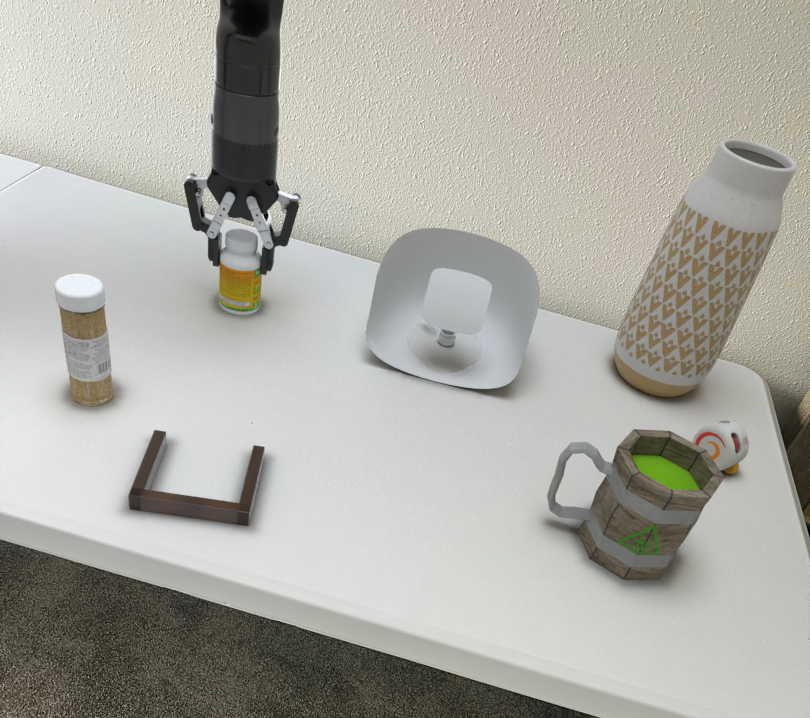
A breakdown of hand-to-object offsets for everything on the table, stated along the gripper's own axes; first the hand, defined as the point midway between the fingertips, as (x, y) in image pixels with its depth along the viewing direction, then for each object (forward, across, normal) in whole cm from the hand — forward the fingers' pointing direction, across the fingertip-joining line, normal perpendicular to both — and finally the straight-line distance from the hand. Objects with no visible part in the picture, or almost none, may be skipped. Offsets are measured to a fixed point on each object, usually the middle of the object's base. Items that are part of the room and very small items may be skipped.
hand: (240, 267), depth 100 cm
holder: (+5, -2, +35) cm, 35 cm away
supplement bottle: (+6, 0, 0) cm, 6 cm away
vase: (+6, -58, 0) cm, 58 cm away
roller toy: (+6, -62, +18) cm, 65 cm away
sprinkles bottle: (+6, +12, +24) cm, 27 cm away
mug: (+6, -45, +35) cm, 57 cm away
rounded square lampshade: (+6, -28, +1) cm, 29 cm away
